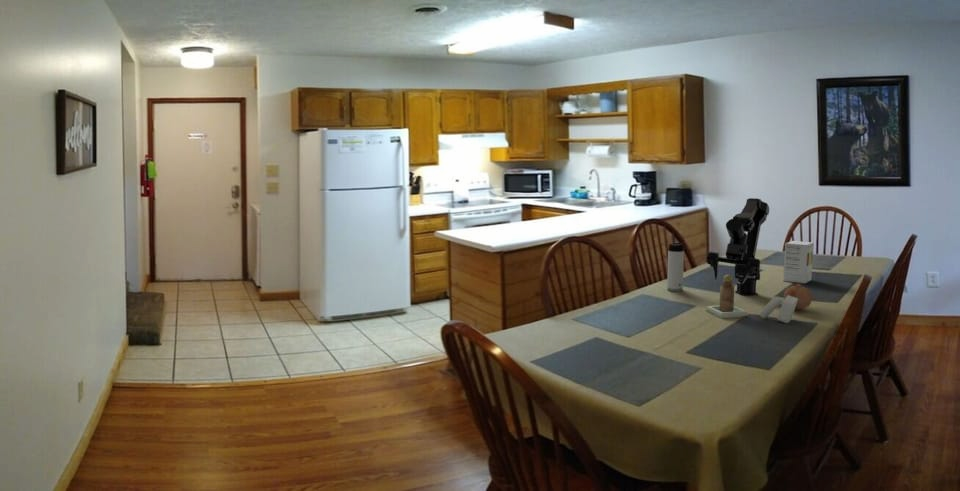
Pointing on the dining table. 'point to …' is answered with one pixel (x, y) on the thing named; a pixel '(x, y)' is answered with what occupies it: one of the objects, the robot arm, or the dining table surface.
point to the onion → (799, 295)
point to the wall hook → (785, 310)
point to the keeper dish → (736, 312)
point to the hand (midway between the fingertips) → (728, 281)
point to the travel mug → (675, 267)
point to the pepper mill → (726, 295)
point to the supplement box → (798, 261)
